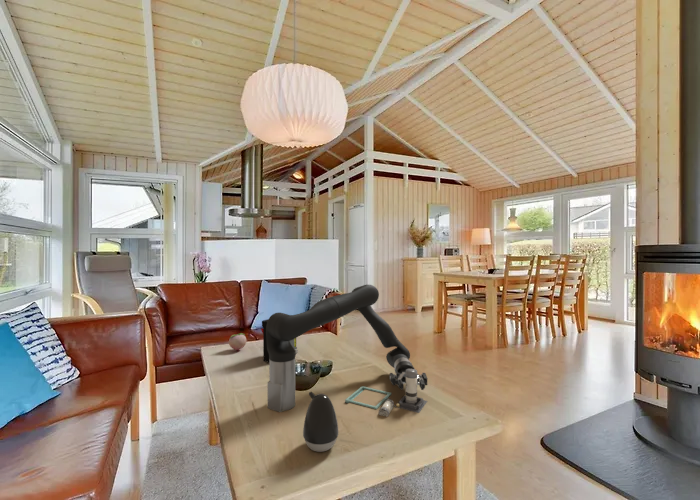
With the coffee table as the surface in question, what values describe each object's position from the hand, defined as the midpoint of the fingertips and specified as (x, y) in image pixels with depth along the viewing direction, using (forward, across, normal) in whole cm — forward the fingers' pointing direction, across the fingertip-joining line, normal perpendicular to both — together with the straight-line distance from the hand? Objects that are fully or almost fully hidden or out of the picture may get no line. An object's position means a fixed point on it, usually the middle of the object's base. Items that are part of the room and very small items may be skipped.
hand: (412, 387), depth 122 cm
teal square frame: (-7, -15, +8) cm, 18 cm away
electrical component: (-56, -57, +8) cm, 80 cm away
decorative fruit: (-67, -82, +8) cm, 106 cm away
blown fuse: (-2, 0, +7) cm, 7 cm away
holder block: (-2, 0, +8) cm, 8 cm away
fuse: (+3, -9, +8) cm, 13 cm away
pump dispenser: (+21, -31, +8) cm, 39 cm away
